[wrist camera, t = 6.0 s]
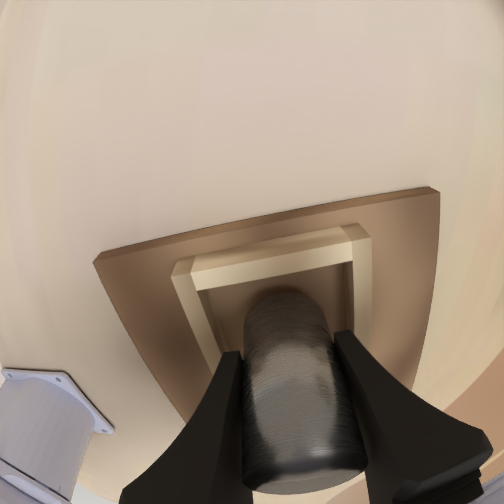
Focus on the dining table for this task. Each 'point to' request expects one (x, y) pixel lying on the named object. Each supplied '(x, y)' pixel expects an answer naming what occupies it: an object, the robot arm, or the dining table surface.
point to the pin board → (280, 284)
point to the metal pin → (295, 401)
